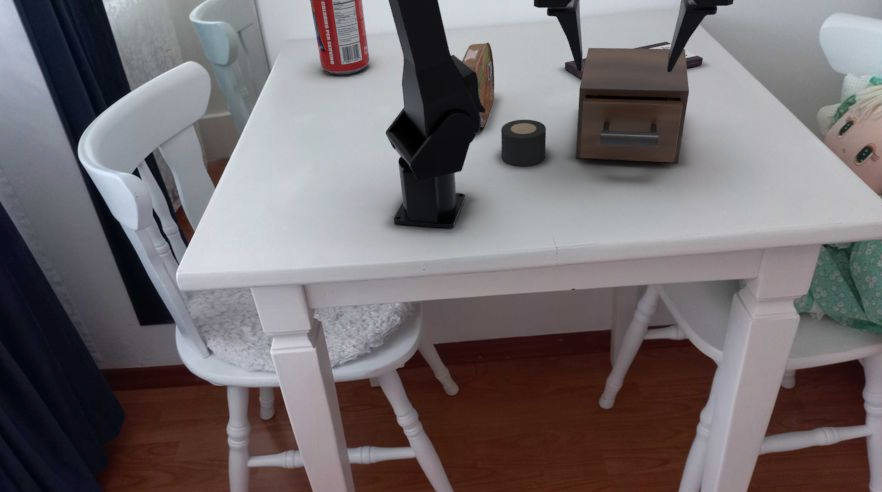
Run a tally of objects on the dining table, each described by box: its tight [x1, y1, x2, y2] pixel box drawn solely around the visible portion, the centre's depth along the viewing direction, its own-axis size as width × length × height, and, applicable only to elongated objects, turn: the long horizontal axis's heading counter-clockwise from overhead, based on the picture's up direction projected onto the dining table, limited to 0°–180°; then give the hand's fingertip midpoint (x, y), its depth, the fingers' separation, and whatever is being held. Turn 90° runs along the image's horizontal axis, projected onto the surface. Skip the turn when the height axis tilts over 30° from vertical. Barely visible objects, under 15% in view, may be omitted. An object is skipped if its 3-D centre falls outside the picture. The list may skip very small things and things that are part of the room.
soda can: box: [309, 0, 370, 76], centre depth 109 cm, size 8×8×15 cm
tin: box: [461, 42, 495, 128], centre depth 93 cm, size 15×3×8 cm, turn 168°
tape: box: [500, 119, 547, 167], centre depth 83 cm, size 5×5×4 cm
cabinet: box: [575, 47, 690, 164], centre depth 84 cm, size 14×12×9 cm
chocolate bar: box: [564, 41, 704, 80], centre depth 105 cm, size 9×1×18 cm
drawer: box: [579, 95, 682, 163], centre depth 81 cm, size 17×10×7 cm, turn 166°
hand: (623, 70), depth 74 cm, fingers open, 9 cm apart
